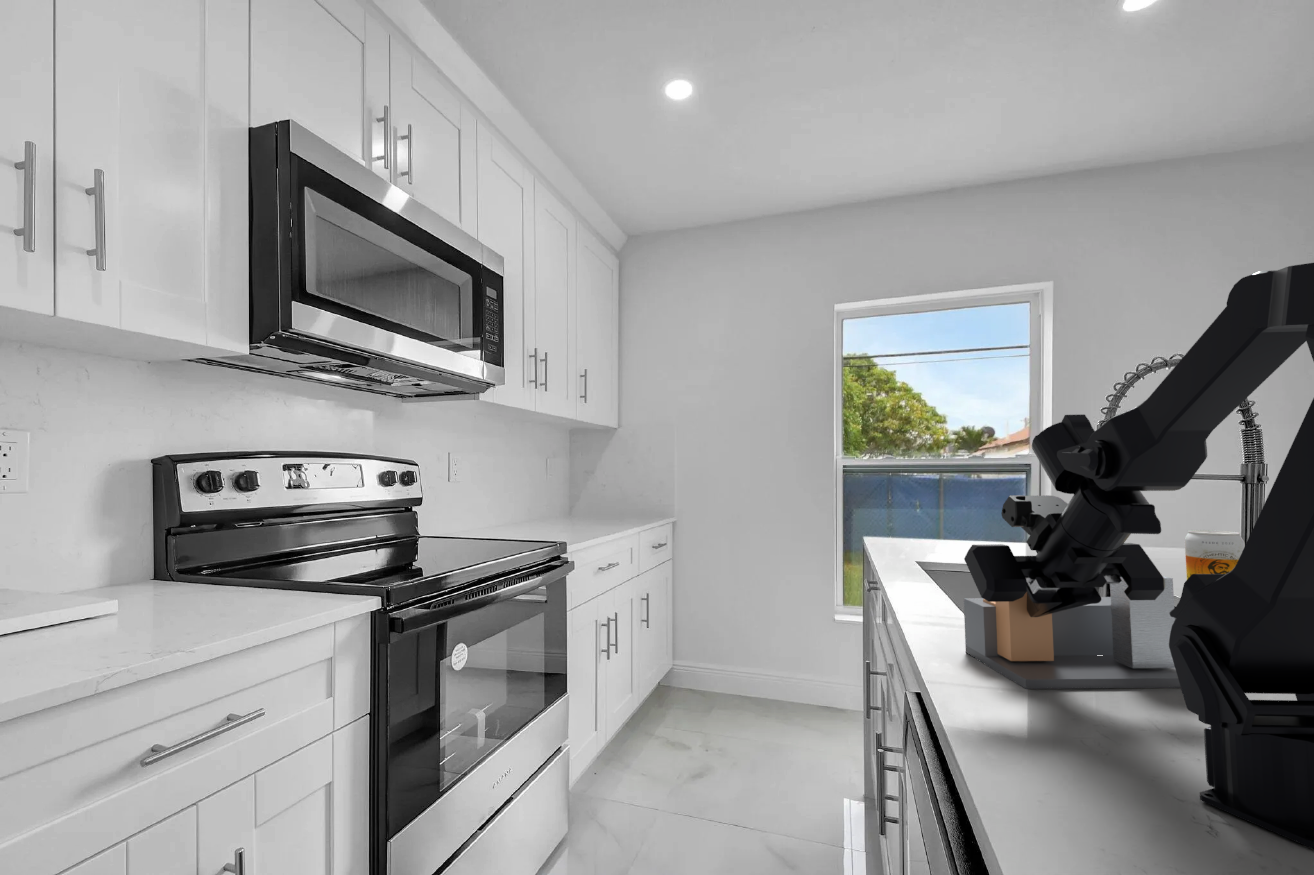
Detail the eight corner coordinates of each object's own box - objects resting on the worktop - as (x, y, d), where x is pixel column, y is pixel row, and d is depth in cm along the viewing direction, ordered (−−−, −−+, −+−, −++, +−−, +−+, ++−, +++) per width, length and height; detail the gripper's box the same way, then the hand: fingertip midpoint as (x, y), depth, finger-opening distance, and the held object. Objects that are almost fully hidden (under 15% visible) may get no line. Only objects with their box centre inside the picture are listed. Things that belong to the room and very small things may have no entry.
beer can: (1197, 646, 83) (1191, 533, 84) (1184, 635, 88) (1178, 529, 89) (1258, 652, 80) (1251, 534, 81) (1241, 640, 85) (1234, 530, 86)
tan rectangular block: (1053, 660, 73) (1050, 574, 74) (1011, 661, 73) (1007, 575, 74) (1038, 653, 76) (1034, 570, 77) (997, 653, 76) (994, 571, 77)
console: (1211, 687, 68) (1207, 618, 68) (1026, 688, 68) (1023, 620, 68) (1120, 651, 81) (1117, 594, 82) (965, 652, 81) (963, 595, 82)
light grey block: (1177, 667, 70) (1172, 578, 71) (1132, 668, 70) (1128, 578, 71) (1156, 659, 73) (1152, 573, 74) (1113, 660, 73) (1109, 574, 74)
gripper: (1138, 470, 69) (1077, 557, 79) (969, 472, 69) (929, 558, 80) (1204, 551, 61) (1126, 636, 71) (1011, 553, 61) (961, 638, 71)
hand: (1031, 613), depth 73 cm, fingers closed, pressing on tan rectangular block
